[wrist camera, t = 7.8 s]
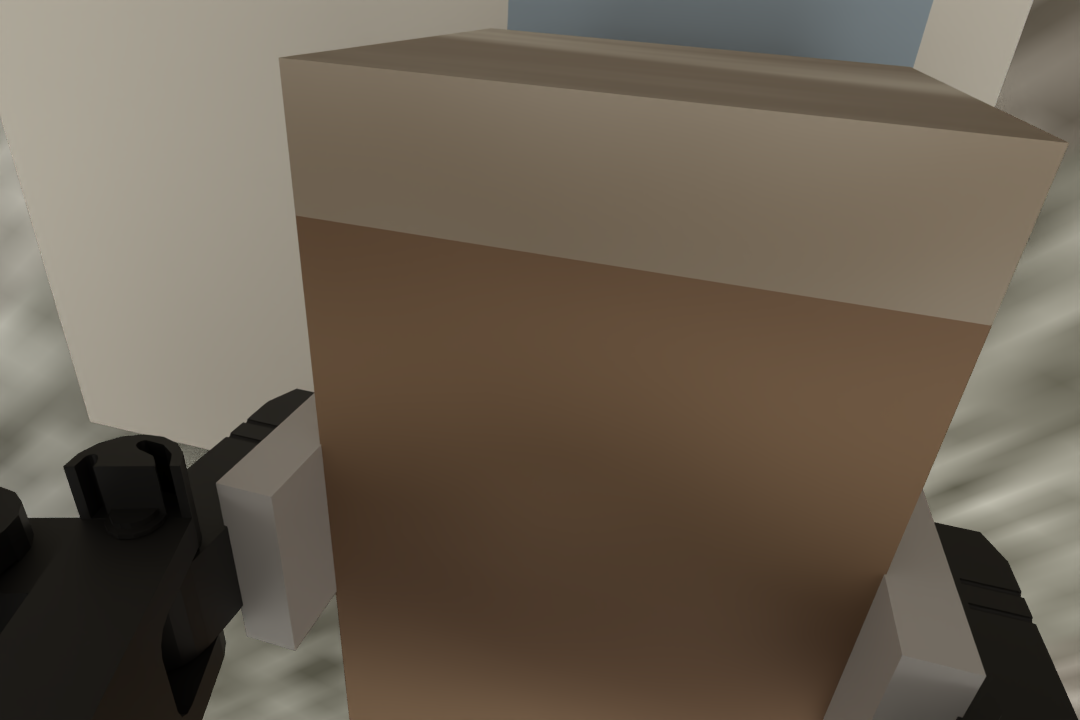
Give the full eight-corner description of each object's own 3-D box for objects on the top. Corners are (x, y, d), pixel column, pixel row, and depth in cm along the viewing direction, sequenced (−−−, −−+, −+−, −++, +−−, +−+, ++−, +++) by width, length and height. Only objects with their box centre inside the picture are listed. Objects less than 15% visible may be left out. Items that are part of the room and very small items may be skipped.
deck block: (750, 601, 17) (747, 900, 11) (476, 533, 18) (354, 771, 13) (909, 67, 11) (1070, 142, 5) (491, 27, 12) (278, 58, 7)
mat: (97, 416, 30) (89, 421, 30) (-90, -235, 20) (-105, -239, 19) (817, 585, 24) (818, 593, 24) (1104, -215, 14) (1113, -220, 13)
